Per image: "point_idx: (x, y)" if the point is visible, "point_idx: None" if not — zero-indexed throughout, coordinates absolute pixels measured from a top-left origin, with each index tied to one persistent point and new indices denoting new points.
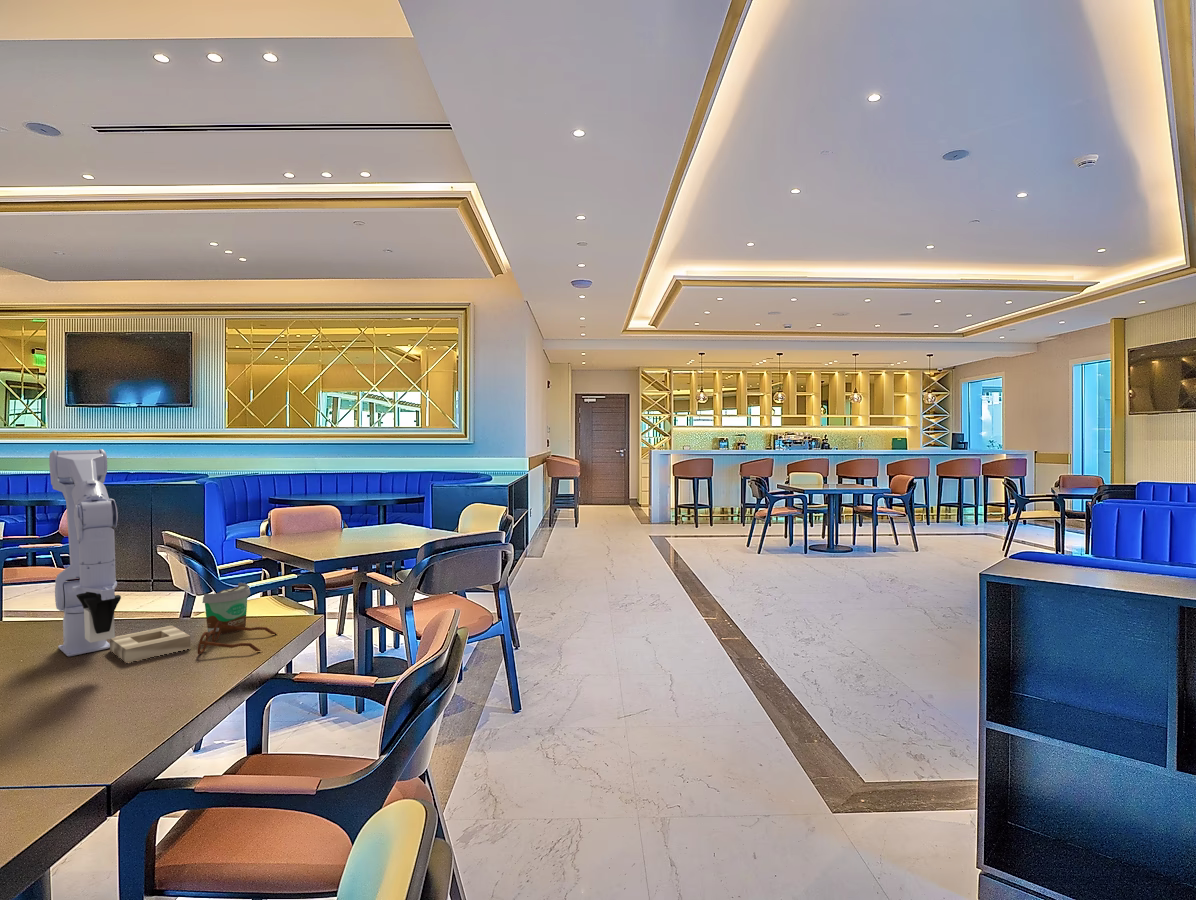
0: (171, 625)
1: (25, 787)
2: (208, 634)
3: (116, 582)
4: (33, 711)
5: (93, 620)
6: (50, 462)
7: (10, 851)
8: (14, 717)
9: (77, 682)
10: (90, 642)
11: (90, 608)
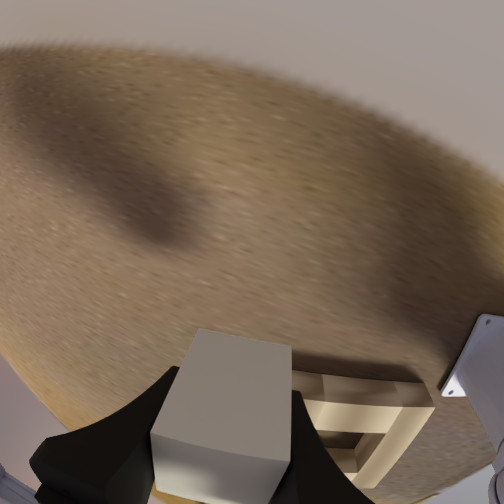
0: (373, 487)
1: None
2: None
3: None
4: (99, 88)
5: (143, 399)
6: None
7: None
8: (99, 53)
9: (236, 235)
10: (198, 328)
11: (74, 431)
